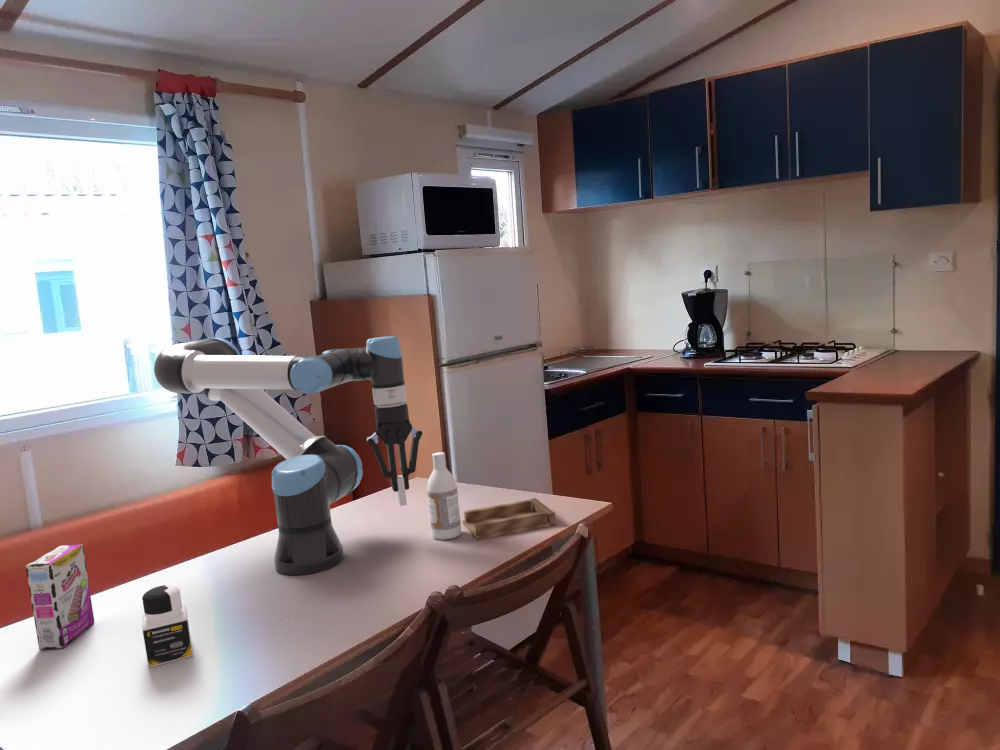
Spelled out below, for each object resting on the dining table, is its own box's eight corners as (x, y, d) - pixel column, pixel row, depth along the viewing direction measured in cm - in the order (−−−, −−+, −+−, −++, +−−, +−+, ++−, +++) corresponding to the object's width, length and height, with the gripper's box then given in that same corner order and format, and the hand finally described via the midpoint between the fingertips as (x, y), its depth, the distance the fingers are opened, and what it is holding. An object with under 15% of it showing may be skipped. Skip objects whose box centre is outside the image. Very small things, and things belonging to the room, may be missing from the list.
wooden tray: (476, 540, 184) (475, 527, 183) (462, 523, 197) (461, 510, 197) (555, 525, 189) (554, 512, 189) (536, 509, 203) (535, 497, 202)
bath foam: (427, 535, 191) (419, 453, 188) (454, 528, 194) (445, 448, 191) (439, 542, 184) (430, 458, 182) (466, 535, 188) (457, 453, 185)
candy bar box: (64, 649, 146) (49, 563, 144) (38, 651, 146) (23, 566, 144) (97, 622, 157) (83, 542, 155) (72, 624, 157) (58, 544, 155)
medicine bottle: (148, 668, 135) (137, 601, 134) (148, 651, 142) (138, 587, 140) (193, 657, 138) (182, 591, 136) (191, 640, 145) (181, 578, 143)
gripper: (364, 410, 177) (376, 513, 180) (421, 402, 180) (433, 503, 183) (360, 406, 184) (372, 504, 187) (415, 398, 187) (427, 495, 190)
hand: (402, 503), depth 185 cm, fingers closed
